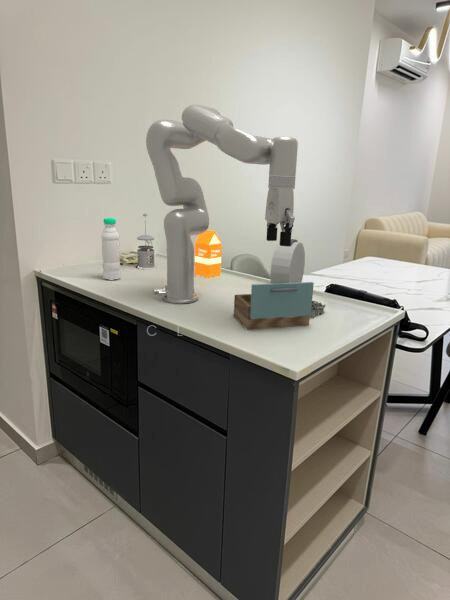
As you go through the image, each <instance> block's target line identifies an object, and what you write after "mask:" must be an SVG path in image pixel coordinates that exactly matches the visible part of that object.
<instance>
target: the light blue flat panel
mask: <svg viewBox="0 0 450 600" xmlns="http://www.w3.org/2000/svg"><path fill="white" fill-rule="evenodd" d="M314 284H315V282H313V281H302V282H298V283H274V284H271V283H255V284H254V283H253V284H251V290H250V291H251V293H250V294H251V309H250V318H251V319H258V318H274V317H289V316H304V315H311V307H312V301H313V293H314V286H315V285H314Z"/></svg>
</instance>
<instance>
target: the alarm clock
mask: <svg viewBox="0 0 450 600" xmlns="http://www.w3.org/2000/svg"><path fill="white" fill-rule="evenodd" d="M271 260H272V261H271V265H270V284H274V283H298V282H303V278H304V273H305V264H306V254H305V246H304V243H302V242H300V241H299V240H297V239H296V238H295V239H294V238H291V245H290V246H280V241H279V242H278V243H277V245H276V247H275V249H274V252H273V255H272V259H271Z"/></svg>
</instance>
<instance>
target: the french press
mask: <svg viewBox="0 0 450 600" xmlns="http://www.w3.org/2000/svg"><path fill="white" fill-rule="evenodd" d="M142 216H143V217H148V214H147V213H145V212H144V213H143V215H142ZM146 223H147V222H146V221H144V226H145V228H144V234H142V235H139V236H137V237H136V240H138V241H144V242H145V245H139V246H137V248H138V249H137V255H136V256H137V265H138V266H139V267H142V268H154V267H156V268H157V266H156V265H155V249H154V246H153V241H154V240H155V237H154V236H152V235H149V234H147V231H146V230H147V229H146ZM150 243H151V245H150ZM147 244H148V245H147Z"/></svg>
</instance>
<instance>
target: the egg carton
mask: <svg viewBox="0 0 450 600" xmlns="http://www.w3.org/2000/svg"><path fill="white" fill-rule="evenodd" d="M326 306H327V305H326V303H324V304H322V302H319V301H316V300H312V307H311V315H310V319H311V318H312V319H314V318H315V317H316V316H320V314H324V311H325V310H324V309H325V308H326Z"/></svg>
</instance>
